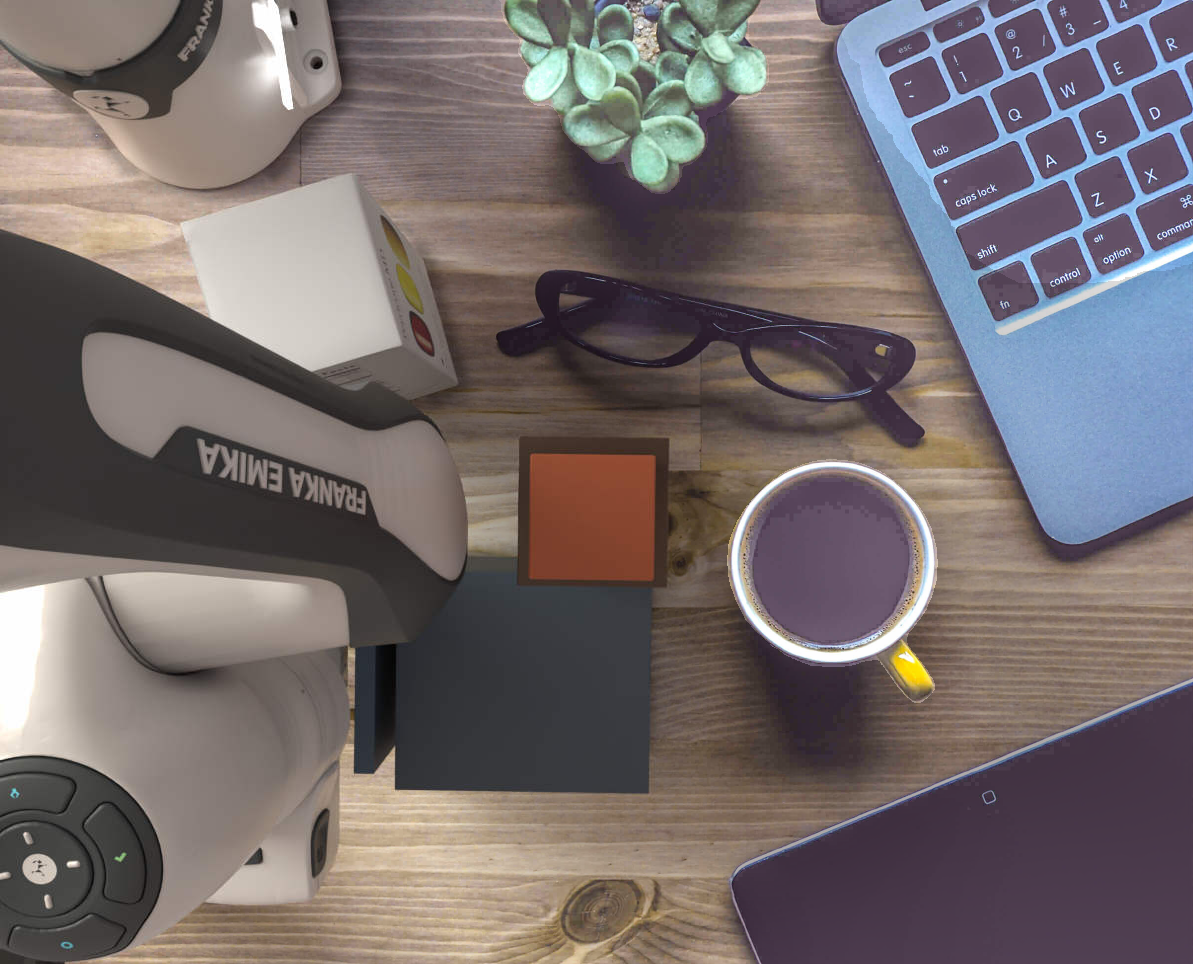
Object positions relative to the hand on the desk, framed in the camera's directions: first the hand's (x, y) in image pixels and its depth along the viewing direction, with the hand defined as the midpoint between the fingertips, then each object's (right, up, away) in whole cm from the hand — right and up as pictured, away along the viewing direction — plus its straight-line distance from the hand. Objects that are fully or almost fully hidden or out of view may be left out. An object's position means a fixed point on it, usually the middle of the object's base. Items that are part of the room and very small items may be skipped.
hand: (335, 662), depth 56 cm
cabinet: (+12, 0, +5) cm, 13 cm away
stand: (+16, +10, +4) cm, 20 cm away
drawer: (+7, 0, +4) cm, 8 cm away
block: (+16, +10, -21) cm, 28 cm away
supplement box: (+1, +21, +5) cm, 22 cm away
